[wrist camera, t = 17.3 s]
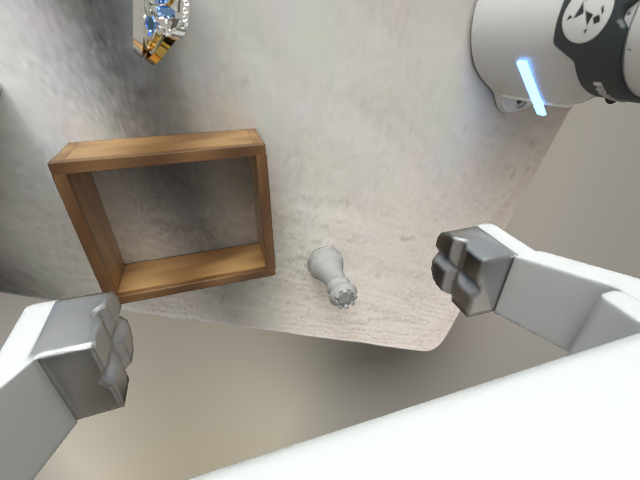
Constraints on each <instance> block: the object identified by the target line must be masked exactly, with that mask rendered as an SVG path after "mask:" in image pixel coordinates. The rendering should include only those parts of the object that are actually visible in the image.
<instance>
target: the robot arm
mask: <svg viewBox="0 0 640 480" xmlns="http://www.w3.org/2000/svg"><path fill="white" fill-rule="evenodd" d="M471 49H472V56H473V61H474V64H475V67H476V69H477V72H478V74H479V75H480V77H481V78H482V80H483V81H484V82H485V83H486V84H487V85H488V86H489V87H490V88H491V90H492V91H493V93H494V97H495V101H496V105H497V108H498V109H499V111H500V112H503V113H513V112H516V111H519V110H522V109H526V108H529V107H532V106H534V108H535V111H536V113H537V114H538V115H542V116H545V115H546V111H545V108H544V106H543V105H549V106H555V107H561V108H570V107H572V106H573V105H574V104H578V103H582V102H585V101H587V100H589V99H592V98H594V97H596V96H597V97H603V98H605V101H606V102H607V103H608V104H613V103H615V102H616V101H618V102H627V101H628V102H636V103H640V0H478V1H477V4H476V8H475V12H474V16H473V22H472V29H471ZM517 100H518V101H517ZM436 247H437V249H438V250H439V252H438V253H437V254H436V256H435V257H434V258H433V261H432V267H431V270H432V275H433V279H434V281H435V283H436V285H437V286H438V287H439V288H440V289H441V290H442V291H444V292H447V293H449V294H452V302H453V303H454V304H455V305H456V306H457V307H458V308H459V309H460V310H461V311H462V312H463V313H464V314H465V315H466V316H467V317H471V316H475V315H479V314H484V313H488V312H492V311H494V313H496V314H498V315H500V316H501V317H503V318H505V319H507V320H509V321H511V322H513V323H515V324H516V325H518V326H521V327H522V328H524V329H526V330H528V331H530V332H532V333H533V334H536V335H537V336H539V337H541V338H543V339H545V340H547V341H549V342H551V343H552V344H554V345H556V346H558V347H560V348H562V349H564V350H566V351H567V352H568V353H567V355H566V357H563V358H560V359H557V360H554V361H551V362H548V363H544V364H541V365H539V366H535V367H532V368H529V369H527V370H523V371H520V372H517V373H514V374H511V375H508V376H505V377H501V378H498V379H495V380H492V381H489V382H486V383H483V384H480V385H477V386H474V387H471V388H468V389H465V390H461V391H459V392H455V393H453V394H449V395H446V396H443V397H440V398H437V399H434V400H431V401H428V402H425V403H422V404H419V405H415V406H413V407H409V408H406V409H403V410H400V411H397V412H394V413H391V414H388V415H385V416H381V417H378V418H375V419H372V420H369V421H366V422H363V423H360V424H357V425H354V426H351V427H348V428H344V429H341V430H338V431H335V432H332V433H329V434H326V435H323V436H320V437H317V438H314V439H311V440H308V441H304V442H301V443H298V444H295V445H292V446H289V447H286V448H283V449H280V450H277V451H274V452H270V453H268V454H264V455H261V456H258V457H255V458H252V459H249V460H246V461H243V462H240V463H236V464H233V465H231V466H227V467H224V468H221V469H218V470H215V471H212V472H209V473H206V474H203V475H199V476H196V477H193V478H190V479H187V480H640V279H638V278H634V277H631V276H627V275H624V274H620V273H617V272H613V271H610V270H606V269H603V268H599V267H596V266H592V265H589V264H585V263H582V262H578V261H574V260H571V259H567V258H564V257H560V256H557V255H553V254H550V253H546V252H542V251H538V252H535V251H534V250H532V249H531V248H529V247H528V246H526V245H525V244H523V243H522V242H520V241H518V240H517V239H515V238H514V237H513V236H511V235H509V234H508V233H506V232H505V231H503V230H502V229H500V228H499V227H497V226H496V225H494V224H490V223H486V224H481V225H476V226H472V227H469V228H464V229H459V230H453V231H448V232H443V233H441V234H440V235H439V237H438V239H437V243H436ZM120 310H121V303H120V301H119V299H118V296H117V294H116V293H114V292H113V291H110V292H103V293H97V294H91V295H85V296H78V297H72V298H66V299H60V300H54V301H48V302H43V303H37V304H32V305H30V306H28V307H26V308H25V309H24V311H23V313H22V314H21V316H20V318H19V319H18V321H17V323H16V325H15V326H14V328H13V330H12V332H11V333H10V335H9V337H8V338H7V340H6V342H5V344H4V346H3V347H2V349H1V351H0V480H33V479H34V478H35V477H36V475H37V474H38V473H39V471H40V470H41V469H42V468H43V466H44V465H45V464H46V462H47V461H48V460H49V459H50V457H51V456H52V455H53V453H54V452H55V451H56V449H57V448H58V447H59V445H60V444H61V443H62V442H63V440H64V439H65V438H66V436H67V435H68V434H69V432H70V431H71V430H72V429H73V427H74V426H75V425H76V423H77V420H78V419H82V418H85V417H89V416H92V415H95V414H99V413H102V412H106V411H109V410H113V409H116V408H120V407H124V405H125V399H126V394H127V388H128V382H129V377H128V375H127V373H126V371H125V369H126V368H127V366H128V365H129V364H130V363H131V362H132V358H133V337H132V332H131V328H130V325H129V323H128V320H126V319H124V318H123V317H121V316H119V314H120Z"/></svg>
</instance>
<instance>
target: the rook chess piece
mask: <svg viewBox="0 0 640 480" xmlns="http://www.w3.org/2000/svg"><path fill="white" fill-rule="evenodd" d="M308 269H309V270H310V272H311V274H312V275H313V276H314V277H315V278H316V279H318V280H320V281H322V282H324V284H325V285H326V286H327V292H328V293H329V294H330V296H329V299H330V302H331V303H332V304H333V305H335V306H337V307H338V308H339V309H341V308H342V307H344V309H348V308H349V306H348V305H349V304H350V303H351V305H354V304H355V303H356V302H355V301H354V299H357V295H356V294H357V289H356V287H355V286H354V285H353V284H351V283H350V281H349V280H348V278H346V277H345V276H344V273H343V258H342V257H341V254H340V253H339V251H338V250H337V249H335V248H333V247H322V248H319V249H317V250H316V251H314V252H313V254H312V255H311V256H310V257H309V261H308Z"/></svg>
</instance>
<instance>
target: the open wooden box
mask: <svg viewBox="0 0 640 480" xmlns="http://www.w3.org/2000/svg"><path fill="white" fill-rule="evenodd" d="M249 156H250V165H251V174H252V183H253V193H254V202H255V211H256V221H257V230H258V239H259V243H254V244H248V245H242V246H236V247H229V248H223V249H217V250H211V251H205V252H199V253H192V254H186V255H180V256H174V257H168V258H162V259H155V260H149V261H143V262H137V263H131V264H124V262H123V259H122V256H121V253H120V251H119V248H118V245H117V243H116V240H115V237H114V234H113V232H112V229H111V226H110V224H109V221H108V218H107V216H106V213H105V210H104V207H103V205H102V202H101V199H100V197H99V194H98V191H97V189H96V186H95V183H94V180H93V178H92V175H91V172H93V171H104V170H114V169H125V168H135V167H145V166H156V165H166V164H177V163H187V162H197V161H208V160H218V159H229V158H239V157H249ZM48 167H49V169H50V171H51V173H52V177H53V180H54V182H55V184H56V187H57V189H58V191H59V193H60V196H61V198H62V200H63V203H64V205H65V207H66V209H67V212H68V214H69V216H70V219H71V221H72V223H73V226H74V228H75V230H76V232H77V235H78V237H79V239H80V242H81V244H82V246H83V249H84V251H85V253H86V255H87V258H88V260H89V262H90V265H91V267H92V269H93V271H94V274H95V276H96V278H97V281H98V283H99V285H100V288H101V290H102V292H110V291H113V292H114V293H116V294H117V296H118V299H119V301H120V303H121V304H124V303H130V302H135V301H140V300H145V299H151V298H156V297H161V296H167V295H172V294H177V293H182V292H188V291H193V290H198V289H204V288H209V287H214V286H219V285H225V284H230V283H235V282H241V281H246V280H251V279H256V278H262V277H267V276H272V275H275V274H276V273H275V268H276V267H275V254H274V242H273V229H272V217H271V204H270V192H269V179H268V167H267V155H266V149H265V144H264V142H263V141H262V139H261V138H260V136H259V135H258V133H257V131H256V130H255V129H247V130H246V129H245V130H232V131H219V132H206V133H193V134H179V135H166V136H153V137H140V138H126V139H113V140H100V141H87V142H73V143H68V144H67V145H66V146H65V147H64V148H63V149H62V150H61V151H60V152H59V153H58V154H57V156H56V157H55V158H54V159H53V160H52V161H50V162H49V163H48Z"/></svg>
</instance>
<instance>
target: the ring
mask: <svg viewBox="0 0 640 480" xmlns="http://www.w3.org/2000/svg"><path fill="white" fill-rule="evenodd" d="M147 2H148V0H133V47H134V52H135V53H136V54H137V55H139V56H140V57H141V58H143V57H144V55H145V54H146V55H145V60H146V61H147V62H149V63H150V64H152V65H154V64H156V63H157V62H158V61H159V60H160V59H161V58H162V57H163V56H164V55H165V54H166V52H167V51H168V50H169V48H170V47H171V46H172V44H173V43H174V41H175V40H180V39H181V38H182V37H183V36H184V35H185V33H186V31H187V28H188V24H189V18H190V7H191V0H149V3H150V5H151V7H150V8H149V9H148V11H147ZM156 5H157V6H158V7H157V6H156ZM177 8H178V12H177V11H176V10H177ZM155 13H156V14H155ZM173 18H176V19H177V21H176V24H175V26H174V28H173V29H170V28H171V26H172V21H171V20H172V19H173ZM147 29H148V32H147ZM162 34H163V35H162ZM161 36H162V37H161ZM160 38H161V39H160ZM159 40H160V41H159Z"/></svg>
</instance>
